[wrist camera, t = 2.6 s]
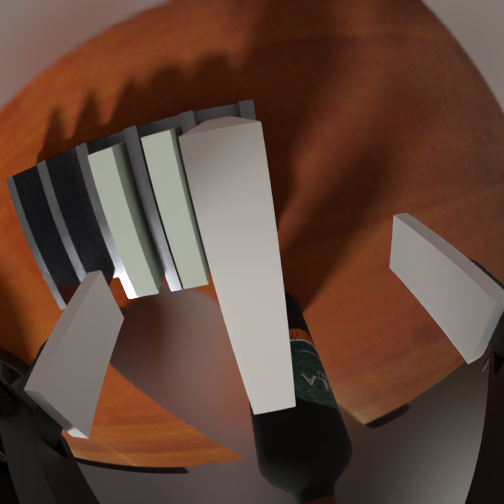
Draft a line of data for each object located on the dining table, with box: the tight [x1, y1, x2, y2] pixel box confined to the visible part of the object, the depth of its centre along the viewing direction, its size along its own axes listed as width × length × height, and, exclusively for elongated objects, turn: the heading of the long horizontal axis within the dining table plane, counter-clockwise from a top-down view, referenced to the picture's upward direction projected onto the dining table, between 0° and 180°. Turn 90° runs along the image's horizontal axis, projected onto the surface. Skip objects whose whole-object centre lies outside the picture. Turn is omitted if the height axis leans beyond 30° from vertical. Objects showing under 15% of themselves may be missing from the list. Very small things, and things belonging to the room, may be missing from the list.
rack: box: [6, 99, 256, 309], centre depth 23 cm, size 23×14×6 cm, turn 99°
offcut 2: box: [141, 126, 209, 289], centre depth 22 cm, size 2×12×6 cm, turn 9°
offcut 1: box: [88, 141, 164, 297], centre depth 22 cm, size 2×12×6 cm, turn 9°
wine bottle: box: [249, 292, 352, 504], centre depth 21 cm, size 8×8×30 cm
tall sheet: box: [178, 116, 296, 415], centre depth 17 cm, size 2×12×18 cm, turn 9°
